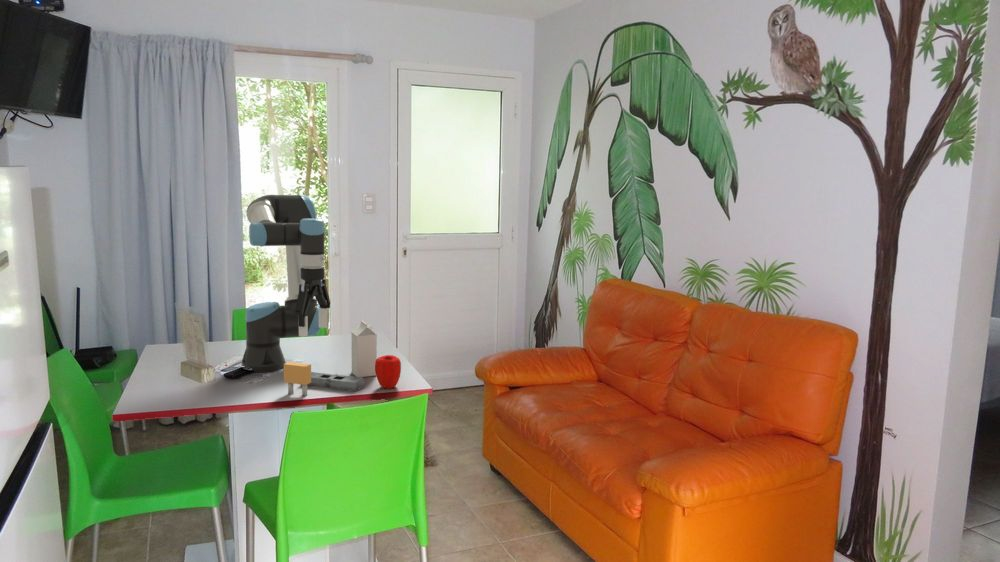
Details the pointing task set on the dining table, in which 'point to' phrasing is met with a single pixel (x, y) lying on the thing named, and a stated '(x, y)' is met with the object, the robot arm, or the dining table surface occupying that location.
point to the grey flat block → (336, 381)
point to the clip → (297, 376)
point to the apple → (388, 370)
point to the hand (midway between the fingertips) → (313, 331)
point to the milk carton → (364, 350)
